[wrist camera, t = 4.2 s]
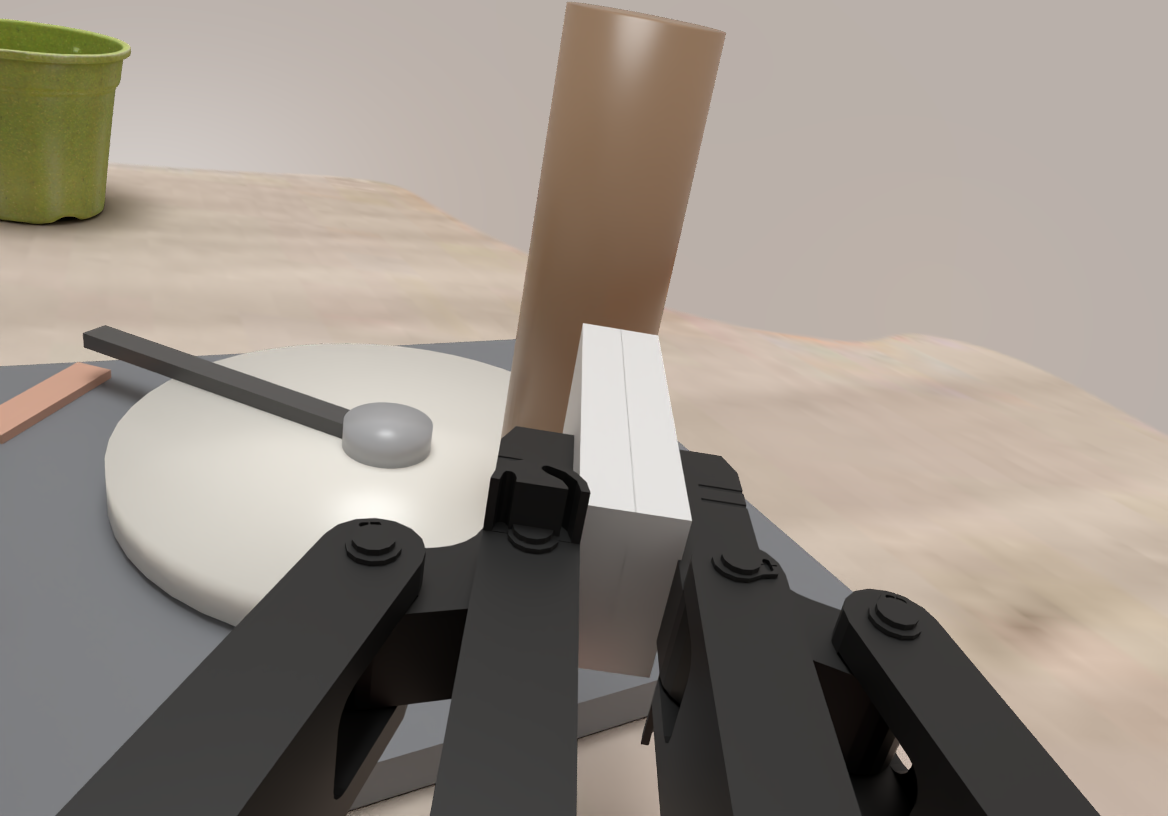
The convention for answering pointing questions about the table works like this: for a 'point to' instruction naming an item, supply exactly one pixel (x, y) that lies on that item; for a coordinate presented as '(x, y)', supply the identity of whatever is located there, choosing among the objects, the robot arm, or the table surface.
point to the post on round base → (419, 351)
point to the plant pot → (55, 119)
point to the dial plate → (170, 599)
